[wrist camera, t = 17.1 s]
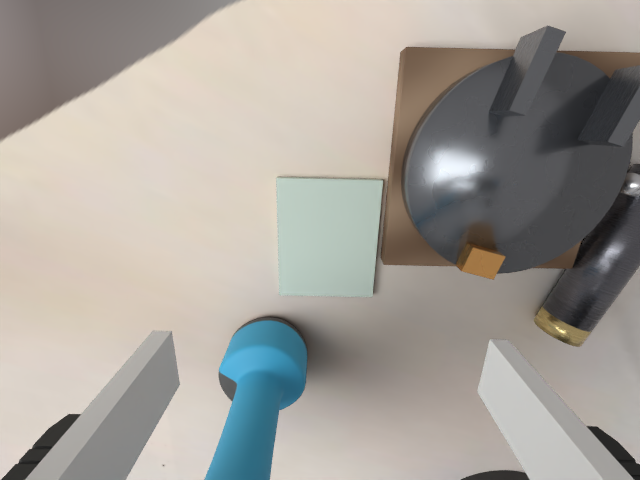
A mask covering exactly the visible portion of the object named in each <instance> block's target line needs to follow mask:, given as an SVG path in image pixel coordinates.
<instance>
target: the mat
mask: <svg viewBox="0 0 640 480" xmlns="http://www.w3.org/2000/svg"><path fill="white" fill-rule="evenodd" d="M276 187H277V224H278V261H279V295H293V296H340V297H372V296H373V285H374V274H375V263H376V252H377V242H378V231H379V220H380V209H381V198H382V187H383V180H382V179H348V178H304V177H277V178H276Z"/></svg>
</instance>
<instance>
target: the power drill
mask: <svg viewBox="0 0 640 480" xmlns="http://www.w3.org/2000/svg"><path fill="white" fill-rule="evenodd" d="M306 370H307V347H306V343H305V341H304V339H303V337H302V335H301V334H300V333H299V331H298V330H297V329H296V328H295V327H294V326H292V325H291V324H290V323H288V322H286V321H284V320H281V319H279V318H272V317H267V318H259V319H255V320H253V321H250V322H248V323H246V324H244V325H243V326H242V327H240V328H239V329H238V330H237V331H236V333H235V334H234V335H233V337H232V339H231V341H230V344H229V346H228V349H227V351H226V353H225V356H224V358H223V361H222V363H221V365H220V368H219V381H220V385H221V387H222V389H223V391H224V392H225V394H226V395H227V397H228V398H229V399H230V400H231V401H232V405H231V408H230V411H229V414H228V417H227V420H226V423H225V426H224V429H223V432H222V435H221V438H220V441H219V443H218V446H217V449H216V452H215V454H214V457H213V460H212V462H211V465H210V467H209V470H208V472H207V475H206V477H205V479H204V480H270V473H271V464H272V457H273V449H274V442H275V435H276V428H277V421H278V414H279V410H281V409H284V408H286V407H288V406H290V405H291V404H293V403H294V402H295V401H296V400H297V399H298V398H299V397H300V396H301V394H302V393H303V391H304V388H305V383H306Z"/></svg>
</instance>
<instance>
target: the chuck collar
mask: <svg viewBox="0 0 640 480" xmlns="http://www.w3.org/2000/svg"><path fill="white" fill-rule="evenodd" d="M565 33H566V32H565V31H562V30H559V29H556V28H553V27H550V26H546V27H543V28H541V29H539V30H537V31H534V32H532V33H530V34H527V35H525V36H523V37H521V38H520V41H519V43H518V45H517V48H516V50H515V52H514V55H513V56H511V57H508V58H505V59H502V60H499V61H497V62H494V63H491V64H488V65H486V66H483V67H480V68H478V69H476V70H474V71H472V72H470V73H468V74H466V75H464V76H463V77H461V78H460V79H458V80H457V81H455V82H454V83H452V84H451V85H450V86H449V87H448V88H447V89H445V90H444V91H443V92H442V93H441V94H440V95H439V96H438V97H437V98H436V99H435V100H434V101H433V102H432V103H431V104H430V106H429V107H428V108H427V110H426V111H425V112H424V114H423V115H422V116H421V118H420V119H419V121H418V123H417V125H416V126H415V128H414V130H413V132H412V134H411V137H410V139H409V141H408V144H407V147H406V151H405V154H404V158H403V164H402V170H401V189H402V197H403V202H404V206H405V209H406V211H407V214H408V217H409V219H410V221H411V222H412V224H413V226H414V227H415V229H416V230H417V231H418V233H419V234H420V235H421V236H422V238H423V239H424V240H425V241H426V242H427V243H428V244H429V245H430V247H432V248H433V249H434V250H435V251H436V252H437V253H438V254H439V255H440V256H442V257H443V258H445V259H446V260H448V261H449V262H451V263H453V264H455V265H456V266H457V267H458V268H459V269H460V270H461V271H463V272H467V273H471V274H474V275H478V276H482V277H486V278H489V279H493V280H494V278H495V276H496V274H497V273H511V272H517V271H522V270H526V269H529V268H533V267H536V266H538V265H541V264H544V263H546V262H548V261H550V260H552V259H554V258H556V257H558V256H560V255H561V254H563V253H565V252H566V251H568V250H569V249H571V248H572V247H574V246H575V245H576V244H577V243H579V242H580V241H581V240H582V239H584V238H585V237H586V236H587V235H588V234H589V233H590V232H591V231H592V230H593V229H594V228H595V227H596V226H597V225H598V223H599V222H600V221H601V220H602V219H603V218H604V216H605V215H606V213H607V212H608V210H609V209H610V208H611V206H612V205H613V203H614V201H615V199H616V197H617V196H618V194H619V192H620V190H621V187H622V185H623V183H624V180H625V178H626V175H627V171H628V168H629V164H630V159H631V152H632V132H633V130H634V128H635V127H636V125H637V123H638V122H639V120H640V65H638V66H633V67H627V68H622V69H617V70H615V71H614V73H613V75H612V76H611V78H609V77H608V76H607V75H606V74H605V73H604V72H603V71H602V70H600V69H599V68H597V67H596V66H595V65H593V64H592V63H590V62H588V61H586V60H583V59H581V58H579V57H577V56H573V55H569V54H565V53H559V52H557V50H558V48H559V45H560V43H561V41H562V39H563V37H564V35H565Z"/></svg>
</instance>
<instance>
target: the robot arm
mask: <svg viewBox="0 0 640 480" xmlns="http://www.w3.org/2000/svg"><path fill="white" fill-rule="evenodd" d="M179 385H180V382H179V375H178V369H177V362H176V356H175V349H174V343H173V337H172V331H152V333H151V334H150V335H149V336H148V337H147V338H146V340H145V341H144V342H143V343H142V344H141V345H140V347H139V348H138V349H137V350H136V351H135V352H134V354H133V355H132V356H131V357H130V358H129V359H128V360H127V362H126V363H125V364H124V365H123V366H122V367H121V369H120V370H119V371H118V372H117V373H116V374H115V376H114V377H113V378H112V379H111V380H110V381H109V383H108V384H107V385H106V386H105V387H104V388H103V390H102V391H101V392H100V393H99V394H98V395H97V397H96V398H95V399H94V400H93V401H92V402H91V403H90V405H89V406H88V407H87V408H86V409H85V410H84V412H83V413H82V414H68V415H67V416H66V417H64V418H63V419H61V420H60V421H59V422H57V423H56V424H54V425H53V426H52V427H50V428H49V429H48V430H47V431H46V432H45V433H44V434H43V435H42V436H41V437H40V439H39V440H38V441H37V442H36V443H35V444H34V445H33V448H32V449H29V450H28V451H27V453H26V454H25V455H24V456H23V457H22V458H21V459H20V460H19V463H18V464H15V465H14V467H13V468H12V469H11V470H10V471H9V472H8V473H7V474H6V475H5V476H4V477H3V478H2V479H1V480H126V478H127V476H128V474H129V473H130V471H131V469H132V467H133V466H134V464H135V462H136V460H137V459H138V457H139V455H140V453H141V452H142V450H143V448H144V446H145V445H146V443H147V441H148V439H149V438H150V436H151V434H152V432H153V431H154V429H155V427H156V425H157V424H158V422H159V420H160V418H161V417H162V415H163V413H164V411H165V410H166V408H167V406H168V404H169V403H170V401H171V399H172V397H173V395H174V394H175V392H176V390H177V388H178V387H179ZM477 392H478V394H479V396H480V397H481V399H482V401H483V402H484V404H485V406H486V407H487V409H488V411H489V412H490V414H491V416H492V417H493V419H494V421H495V422H496V424H497V426H498V427H499V429H500V431H501V432H502V434H503V436H504V437H505V439H506V441H507V443H508V444H509V446H510V448H511V449H512V451H513V453H514V454H515V456H516V458H517V459H518V461H519V463H520V464H521V466H522V468H523V469H524V471H525V473H523V472H518V471H508V470H499V471H489V472H483V473H478V474H475V475H471V476H469V477H466V478H463V479H461V480H640V465H639V464H637V463H636V462H635V459H634V458H633V457H632V456H631V455H630V454H629V453H628V452H627V451H626V450H625V449H624V448H623V447H622V446H621V445H620V444H619V443H618V442H617V441H616V440H615V439H613V438H612V437H610V436H609V435H608V434H606V433H605V432H604V431H602V430H601V429H599V428H598V427H592V426H586V425H585V424H584V423H583V422H582V421H581V420H580V419H579V418H578V417H577V415H576V414H575V413H574V412H573V411H572V410H571V409H570V408H569V407H568V405H567V404H566V403H565V402H564V401H563V400H562V399H561V398H560V397H559V395H558V394H557V393H556V392H555V391H554V390H553V389H552V388H551V387H550V385H549V384H548V383H547V382H546V381H545V380H544V379H543V378H542V377H541V375H540V374H539V373H538V372H537V371H536V370H535V369H534V368H533V367H532V365H531V364H530V363H529V362H528V361H527V360H526V359H525V358H524V357H523V355H522V354H521V353H520V352H519V351H518V350H517V349H516V348H515V346H514V345H513V344H512V343H511V342H510V341H509V340H499V339H490V341H489V345H488V349H487V353H486V357H485V362H484V366H483V370H482V374H481V378H480V383H479V387H478V391H477Z"/></svg>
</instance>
